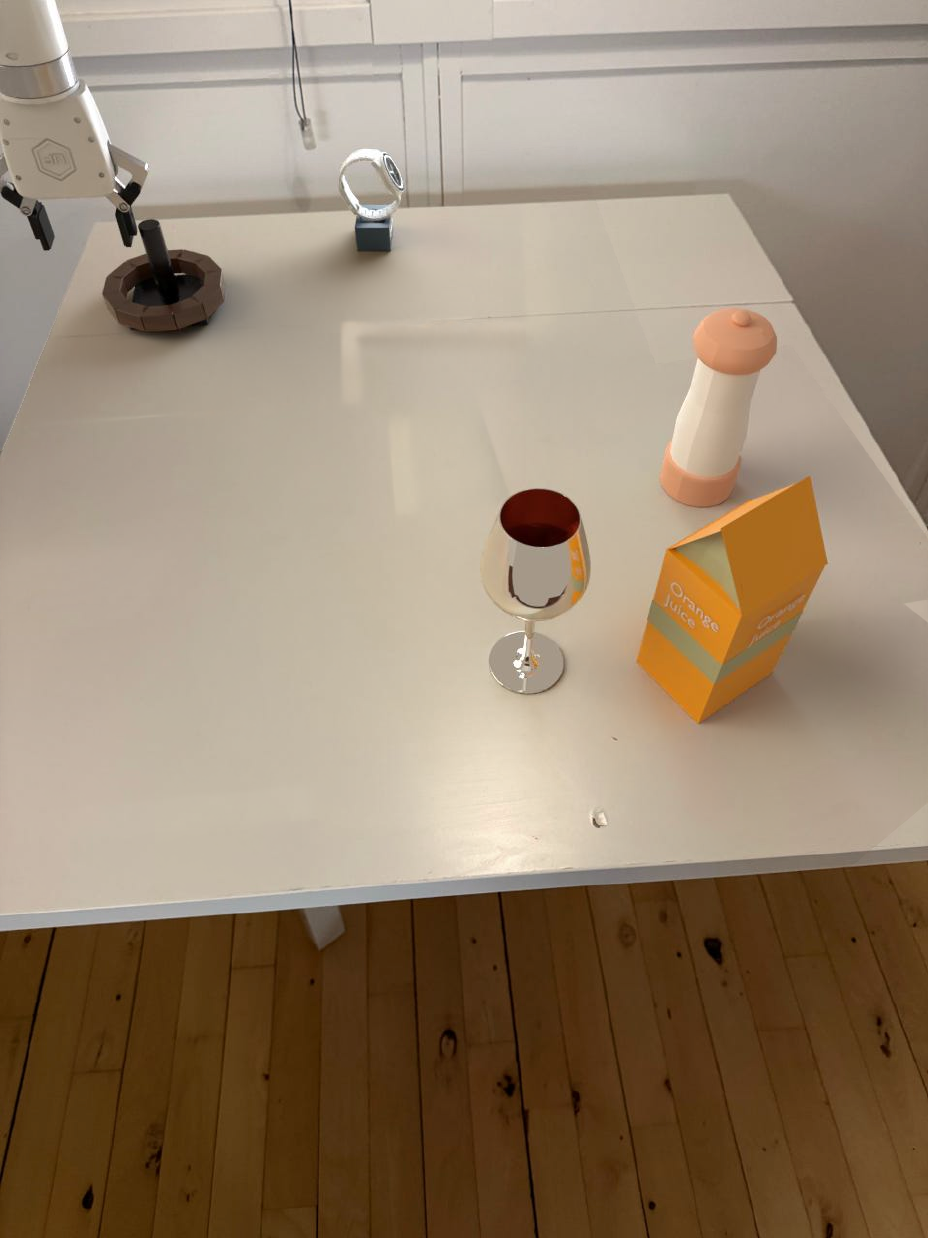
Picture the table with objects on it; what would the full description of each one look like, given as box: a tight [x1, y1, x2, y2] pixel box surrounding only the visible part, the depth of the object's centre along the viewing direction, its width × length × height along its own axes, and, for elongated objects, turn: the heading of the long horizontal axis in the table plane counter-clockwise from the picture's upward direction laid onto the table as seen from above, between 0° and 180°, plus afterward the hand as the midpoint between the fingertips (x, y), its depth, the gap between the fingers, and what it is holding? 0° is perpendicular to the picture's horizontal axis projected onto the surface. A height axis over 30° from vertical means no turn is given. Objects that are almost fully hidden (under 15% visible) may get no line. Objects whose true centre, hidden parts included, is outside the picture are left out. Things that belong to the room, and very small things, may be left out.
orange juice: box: [636, 475, 828, 725], centre depth 68 cm, size 8×9×20 cm
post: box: [129, 218, 210, 331], centre depth 104 cm, size 9×9×10 cm
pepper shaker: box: [659, 307, 778, 508], centre depth 82 cm, size 7×7×19 cm
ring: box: [101, 248, 227, 333], centre depth 107 cm, size 14×14×2 cm
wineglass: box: [479, 487, 592, 695], centre depth 70 cm, size 8×8×18 cm
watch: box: [338, 148, 405, 252], centre depth 113 cm, size 6×8×11 cm
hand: (89, 241), depth 101 cm, fingers open, 8 cm apart
